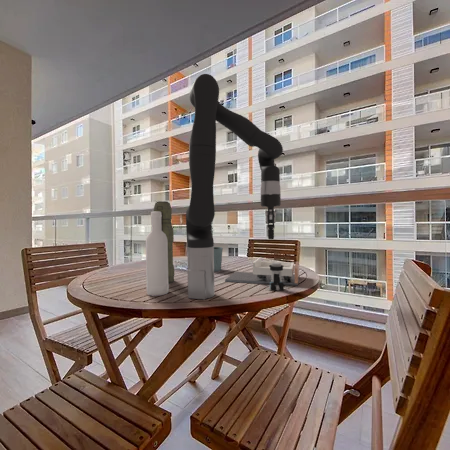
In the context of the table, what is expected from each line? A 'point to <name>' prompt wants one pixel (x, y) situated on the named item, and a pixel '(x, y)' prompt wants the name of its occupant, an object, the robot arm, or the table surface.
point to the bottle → (157, 258)
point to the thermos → (167, 233)
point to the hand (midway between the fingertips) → (271, 239)
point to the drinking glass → (217, 258)
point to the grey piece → (263, 278)
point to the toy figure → (276, 276)
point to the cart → (264, 269)
